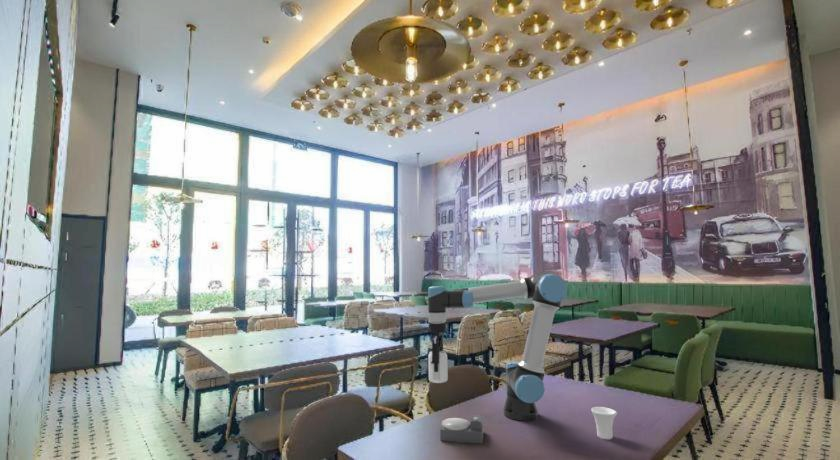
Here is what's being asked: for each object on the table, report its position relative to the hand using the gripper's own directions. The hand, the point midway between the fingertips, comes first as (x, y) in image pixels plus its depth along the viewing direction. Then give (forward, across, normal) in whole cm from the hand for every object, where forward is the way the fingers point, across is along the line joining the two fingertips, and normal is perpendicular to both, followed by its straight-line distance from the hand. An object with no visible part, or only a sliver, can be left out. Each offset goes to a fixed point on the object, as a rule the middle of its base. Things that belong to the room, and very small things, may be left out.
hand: (438, 376), depth 167 cm
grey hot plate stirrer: (+20, +8, +11) cm, 24 cm away
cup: (+21, -2, +65) cm, 69 cm away
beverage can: (+2, 0, 0) cm, 2 cm away
